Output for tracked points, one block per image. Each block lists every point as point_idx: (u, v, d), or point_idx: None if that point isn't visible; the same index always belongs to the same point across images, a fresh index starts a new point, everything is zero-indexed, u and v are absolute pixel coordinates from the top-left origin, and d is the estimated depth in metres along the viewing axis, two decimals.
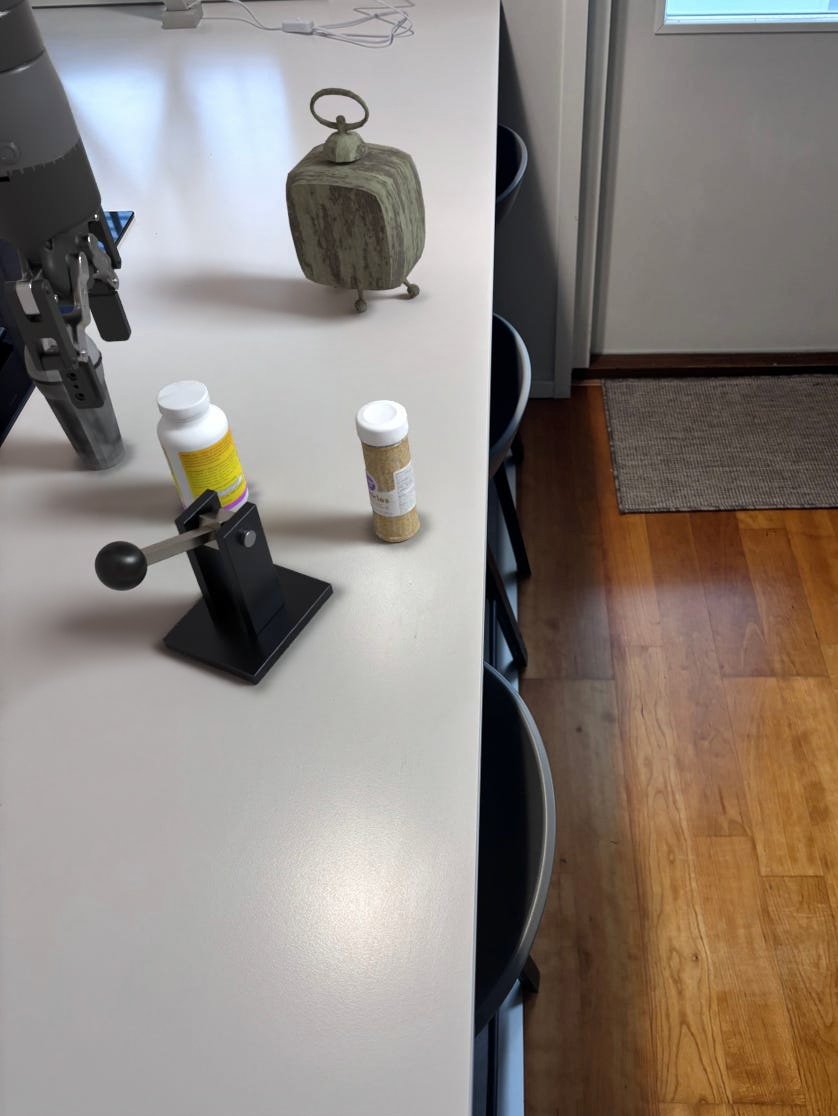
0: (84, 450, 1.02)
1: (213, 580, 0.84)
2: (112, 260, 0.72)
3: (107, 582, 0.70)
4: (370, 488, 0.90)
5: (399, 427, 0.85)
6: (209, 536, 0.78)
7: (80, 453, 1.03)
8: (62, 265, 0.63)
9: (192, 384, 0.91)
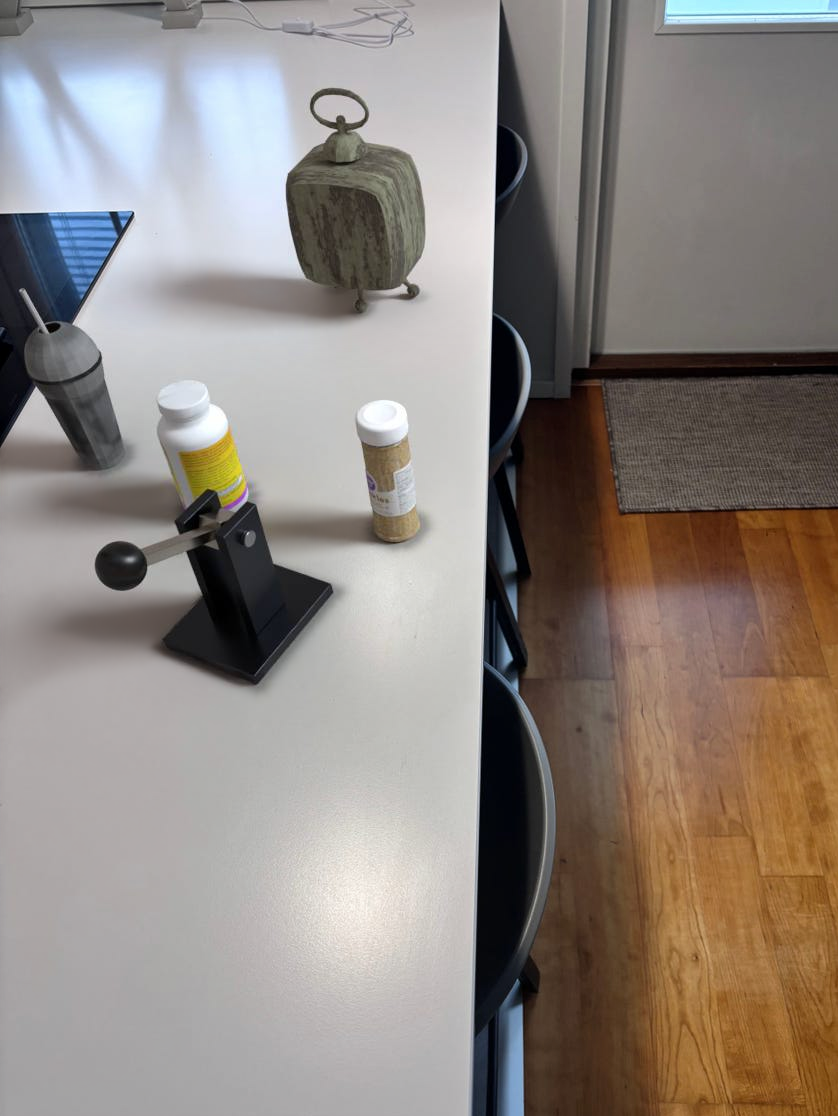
0: (84, 450, 1.02)
1: (213, 580, 0.84)
2: None
3: (107, 582, 0.70)
4: (370, 488, 0.90)
5: (399, 427, 0.85)
6: (209, 536, 0.78)
7: (80, 453, 1.03)
8: None
9: (192, 384, 0.91)
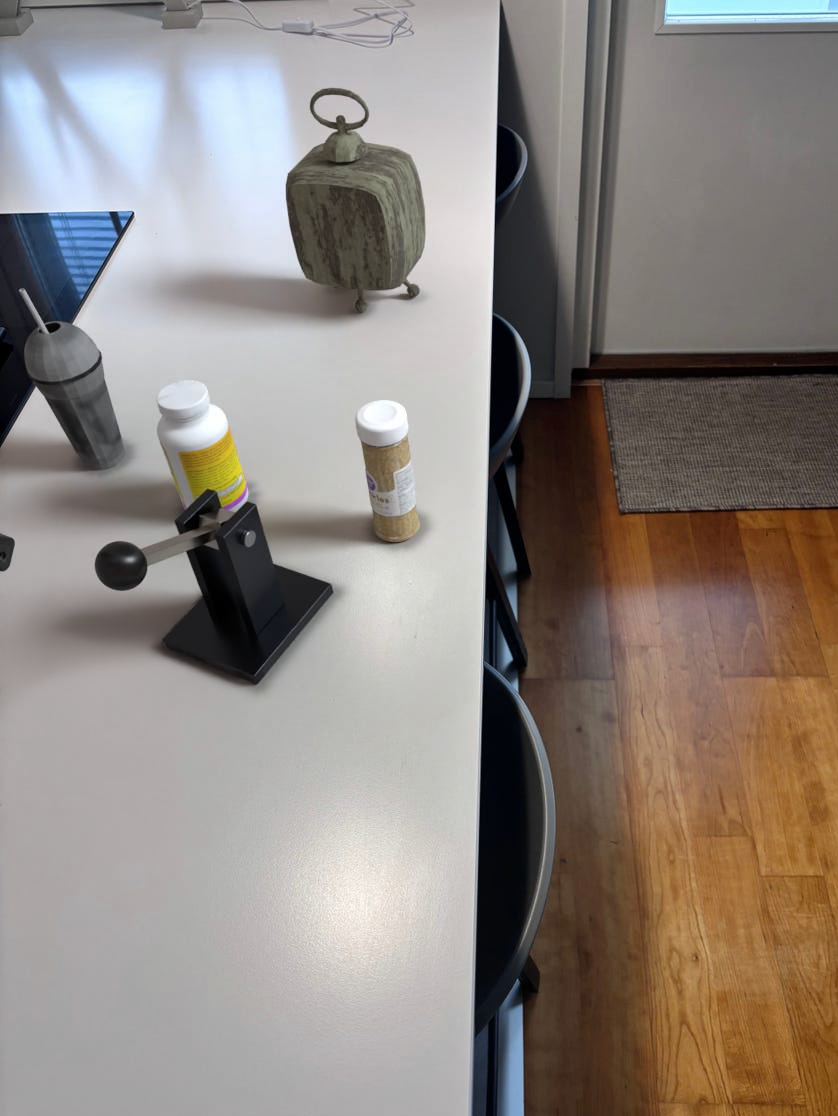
0: (84, 450, 1.02)
1: (213, 580, 0.84)
2: None
3: (107, 582, 0.70)
4: (370, 488, 0.90)
5: (399, 427, 0.85)
6: (209, 536, 0.78)
7: (80, 453, 1.03)
8: None
9: (192, 384, 0.91)
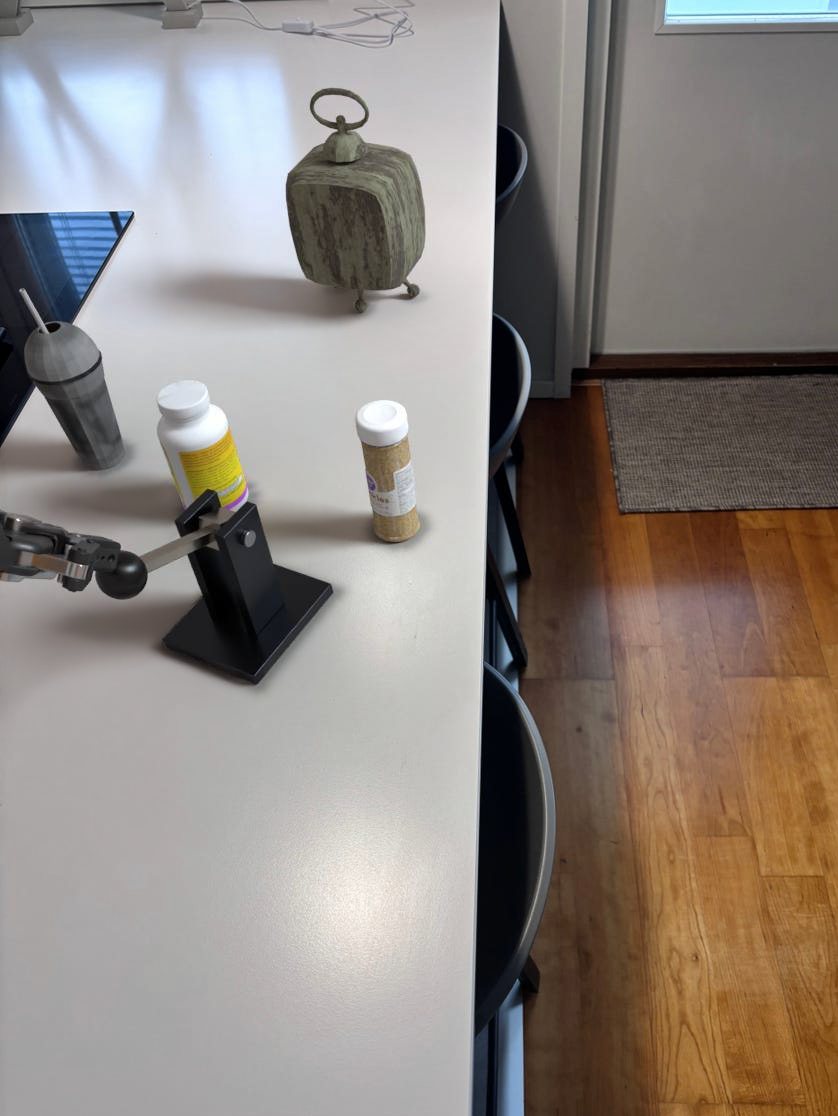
0: (84, 450, 1.02)
1: (213, 580, 0.84)
2: None
3: (108, 592, 0.70)
4: (370, 488, 0.90)
5: (399, 427, 0.85)
6: (209, 538, 0.78)
7: (80, 453, 1.03)
8: None
9: (192, 384, 0.91)
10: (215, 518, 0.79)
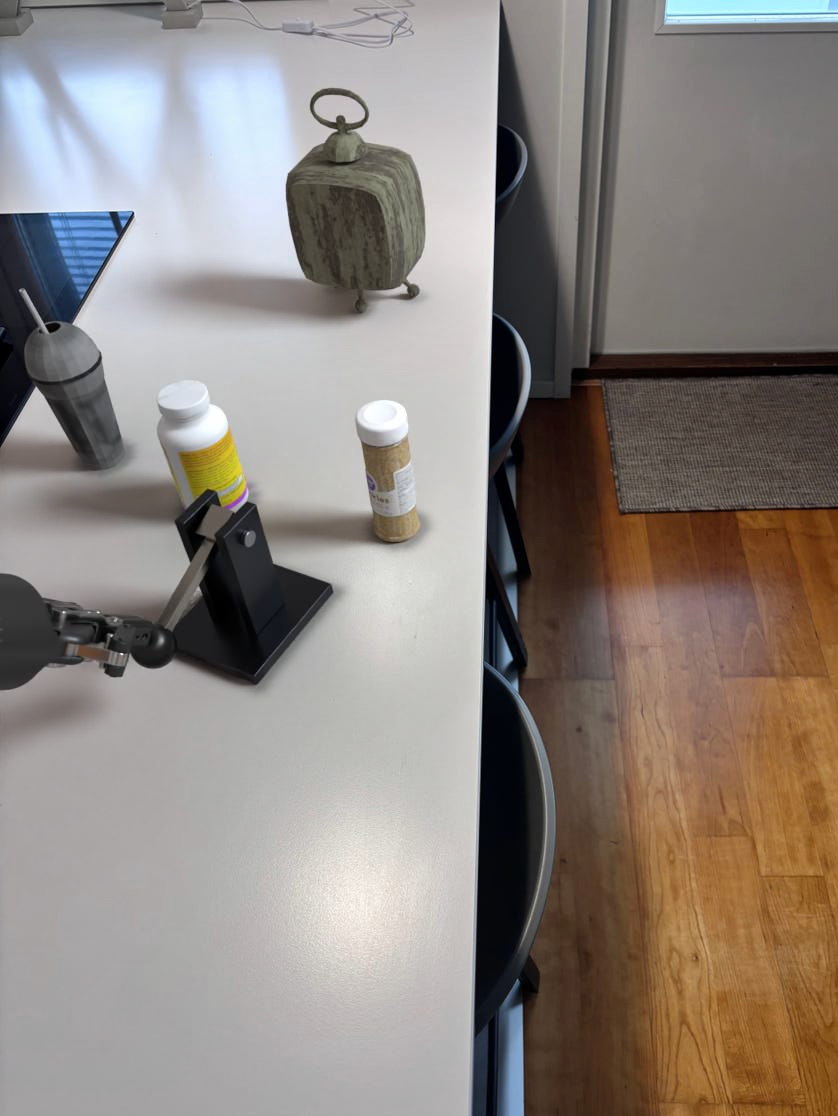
0: (84, 450, 1.02)
1: (213, 580, 0.84)
2: None
3: (150, 668, 0.77)
4: (370, 488, 0.90)
5: (399, 427, 0.85)
6: (213, 551, 0.79)
7: (80, 453, 1.03)
8: None
9: (192, 384, 0.91)
10: (210, 530, 0.79)
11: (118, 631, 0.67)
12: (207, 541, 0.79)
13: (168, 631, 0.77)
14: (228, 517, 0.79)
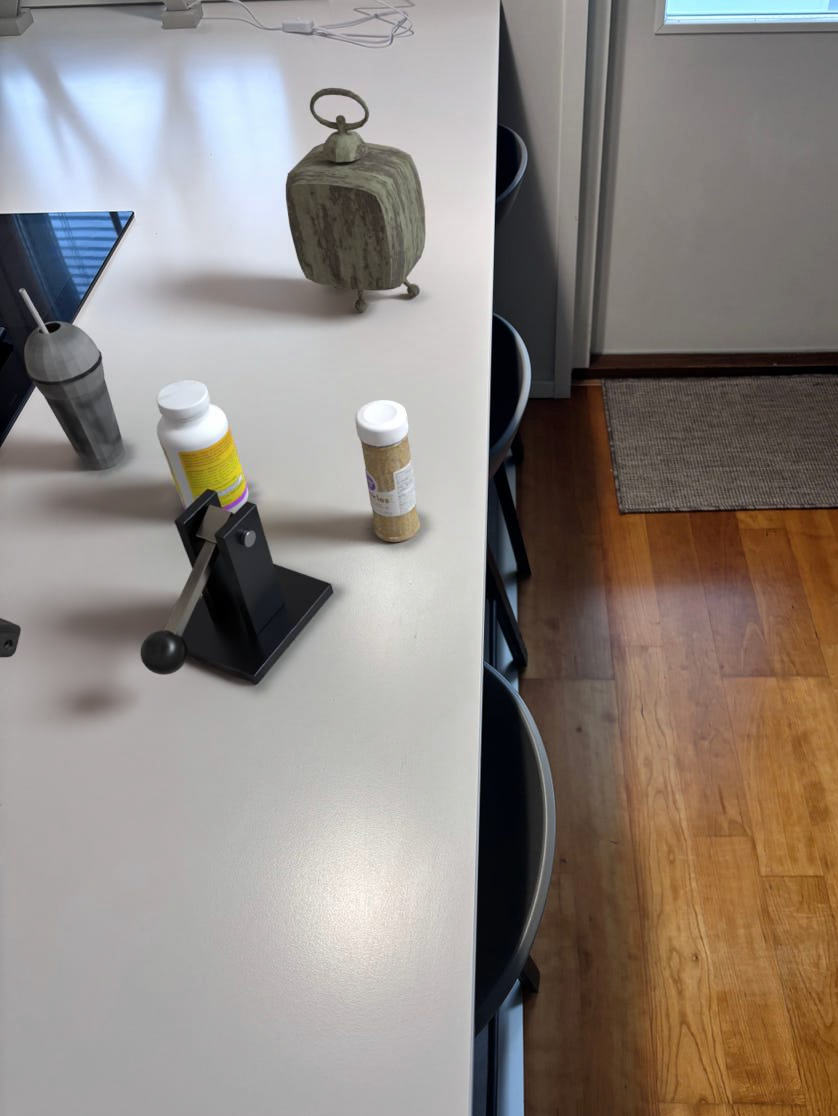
0: (84, 450, 1.02)
1: (213, 580, 0.84)
2: None
3: None
4: (370, 488, 0.90)
5: (399, 427, 0.85)
6: (215, 553, 0.80)
7: (80, 453, 1.03)
8: None
9: (192, 384, 0.91)
10: (210, 532, 0.79)
11: None
12: (208, 543, 0.80)
13: (177, 638, 0.78)
14: (227, 518, 0.79)
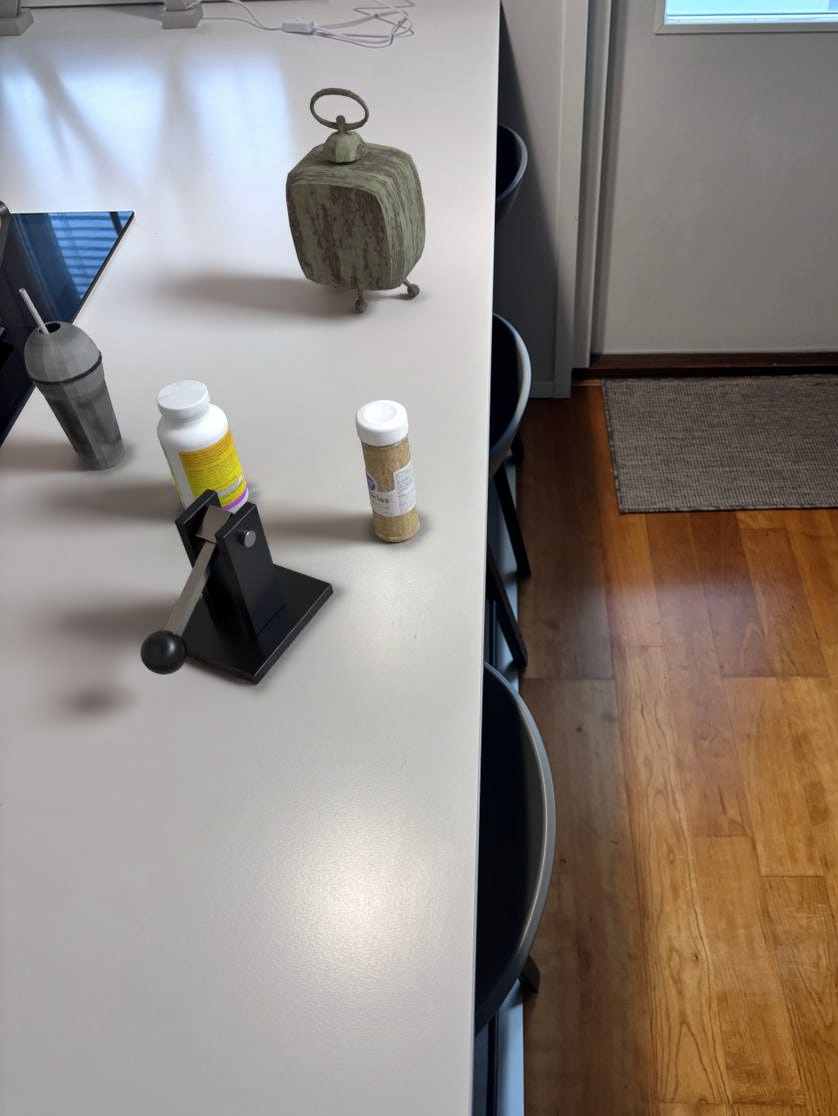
0: (84, 450, 1.02)
1: (213, 580, 0.84)
2: None
3: None
4: (370, 488, 0.90)
5: (399, 427, 0.85)
6: (215, 553, 0.80)
7: (80, 453, 1.03)
8: None
9: (192, 384, 0.91)
10: (210, 532, 0.79)
11: None
12: (208, 543, 0.80)
13: (177, 638, 0.78)
14: (227, 518, 0.79)
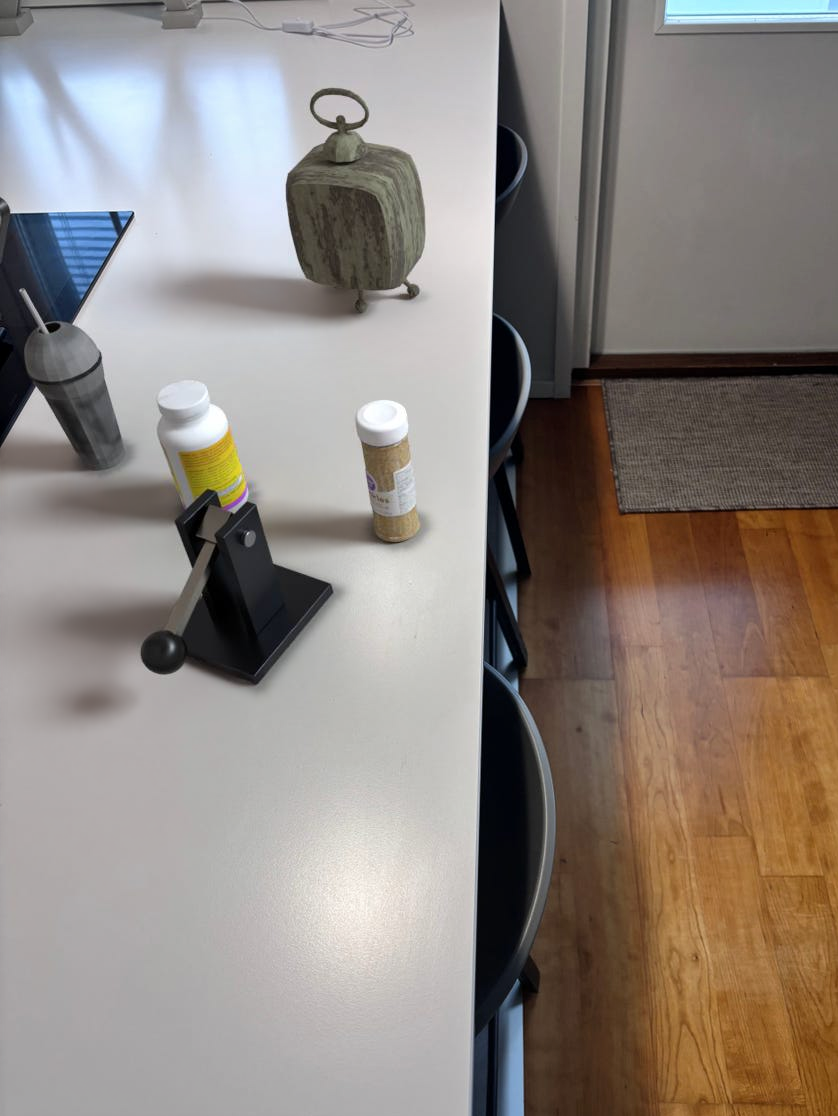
0: (84, 450, 1.02)
1: (213, 580, 0.84)
2: None
3: None
4: (370, 488, 0.90)
5: (399, 427, 0.85)
6: (215, 553, 0.80)
7: (80, 453, 1.03)
8: None
9: (192, 384, 0.91)
10: (210, 532, 0.79)
11: None
12: (208, 543, 0.80)
13: (177, 638, 0.78)
14: (227, 518, 0.79)
